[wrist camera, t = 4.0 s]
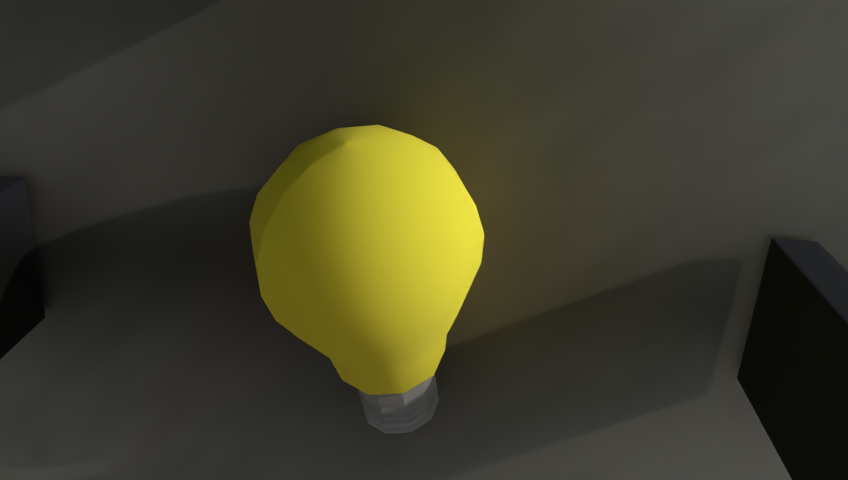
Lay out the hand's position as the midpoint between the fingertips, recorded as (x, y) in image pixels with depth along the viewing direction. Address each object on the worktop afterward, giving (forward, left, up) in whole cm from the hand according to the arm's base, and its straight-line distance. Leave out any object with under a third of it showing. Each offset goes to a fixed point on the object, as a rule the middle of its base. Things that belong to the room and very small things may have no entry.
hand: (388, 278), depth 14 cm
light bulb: (0, 0, 0) cm, 0 cm away
